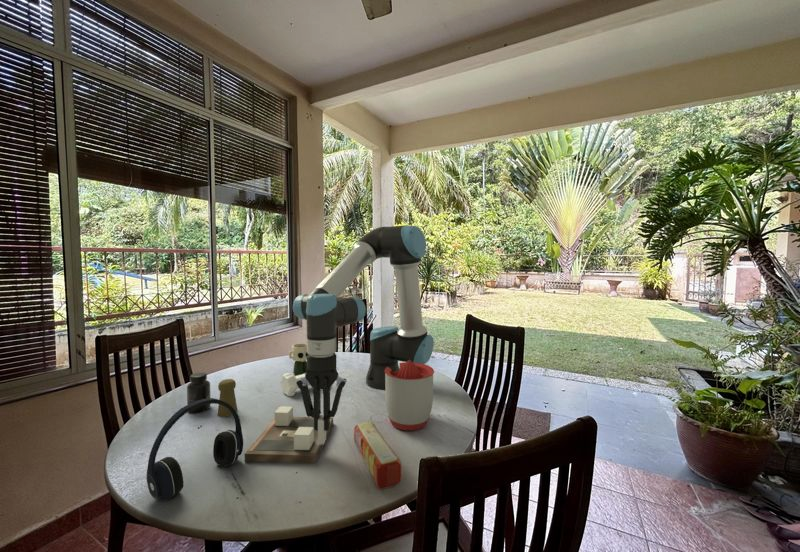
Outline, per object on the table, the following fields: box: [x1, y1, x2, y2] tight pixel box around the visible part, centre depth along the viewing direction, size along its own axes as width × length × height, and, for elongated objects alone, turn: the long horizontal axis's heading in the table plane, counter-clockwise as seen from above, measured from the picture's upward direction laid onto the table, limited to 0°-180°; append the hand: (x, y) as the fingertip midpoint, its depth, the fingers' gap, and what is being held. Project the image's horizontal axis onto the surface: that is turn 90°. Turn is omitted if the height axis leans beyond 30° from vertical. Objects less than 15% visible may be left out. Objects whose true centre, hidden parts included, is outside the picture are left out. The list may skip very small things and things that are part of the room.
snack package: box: [353, 421, 403, 490], centre depth 85 cm, size 21×7×7 cm, turn 22°
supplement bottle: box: [186, 372, 212, 414], centre depth 114 cm, size 7×7×12 cm
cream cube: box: [294, 427, 314, 450], centre depth 88 cm, size 4×4×4 cm
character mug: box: [288, 343, 308, 376], centre depth 149 cm, size 11×7×13 cm, turn 136°
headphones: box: [146, 397, 244, 500], centre depth 78 cm, size 20×7×18 cm, turn 148°
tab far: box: [274, 405, 294, 426], centre depth 101 cm, size 4×4×4 cm
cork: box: [217, 378, 238, 418], centre depth 111 cm, size 6×6×11 cm
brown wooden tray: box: [244, 416, 334, 464], centre depth 95 cm, size 18×20×2 cm
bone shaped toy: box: [280, 372, 311, 397], centre depth 131 cm, size 15×9×8 cm, turn 136°
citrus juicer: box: [384, 360, 435, 431], centre depth 106 cm, size 16×17×20 cm
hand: (322, 441), depth 88 cm, fingers closed
